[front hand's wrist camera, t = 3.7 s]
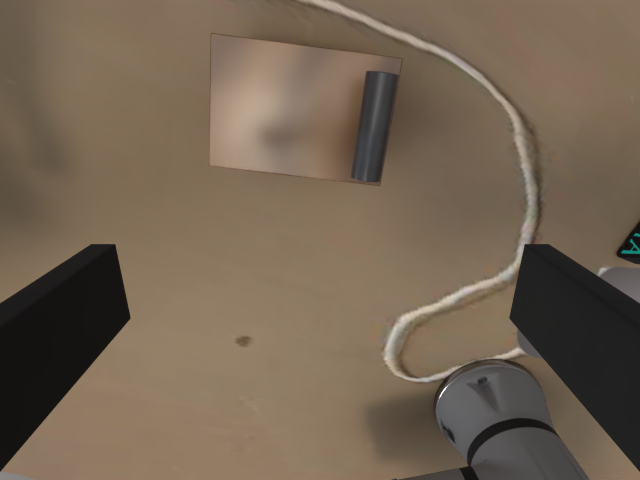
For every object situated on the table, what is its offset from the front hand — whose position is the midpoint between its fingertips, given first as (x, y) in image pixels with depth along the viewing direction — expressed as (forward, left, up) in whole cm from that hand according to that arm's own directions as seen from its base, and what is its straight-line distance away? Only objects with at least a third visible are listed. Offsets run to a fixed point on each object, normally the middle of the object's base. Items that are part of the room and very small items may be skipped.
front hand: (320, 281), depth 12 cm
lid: (+3, -3, -23) cm, 23 cm away
